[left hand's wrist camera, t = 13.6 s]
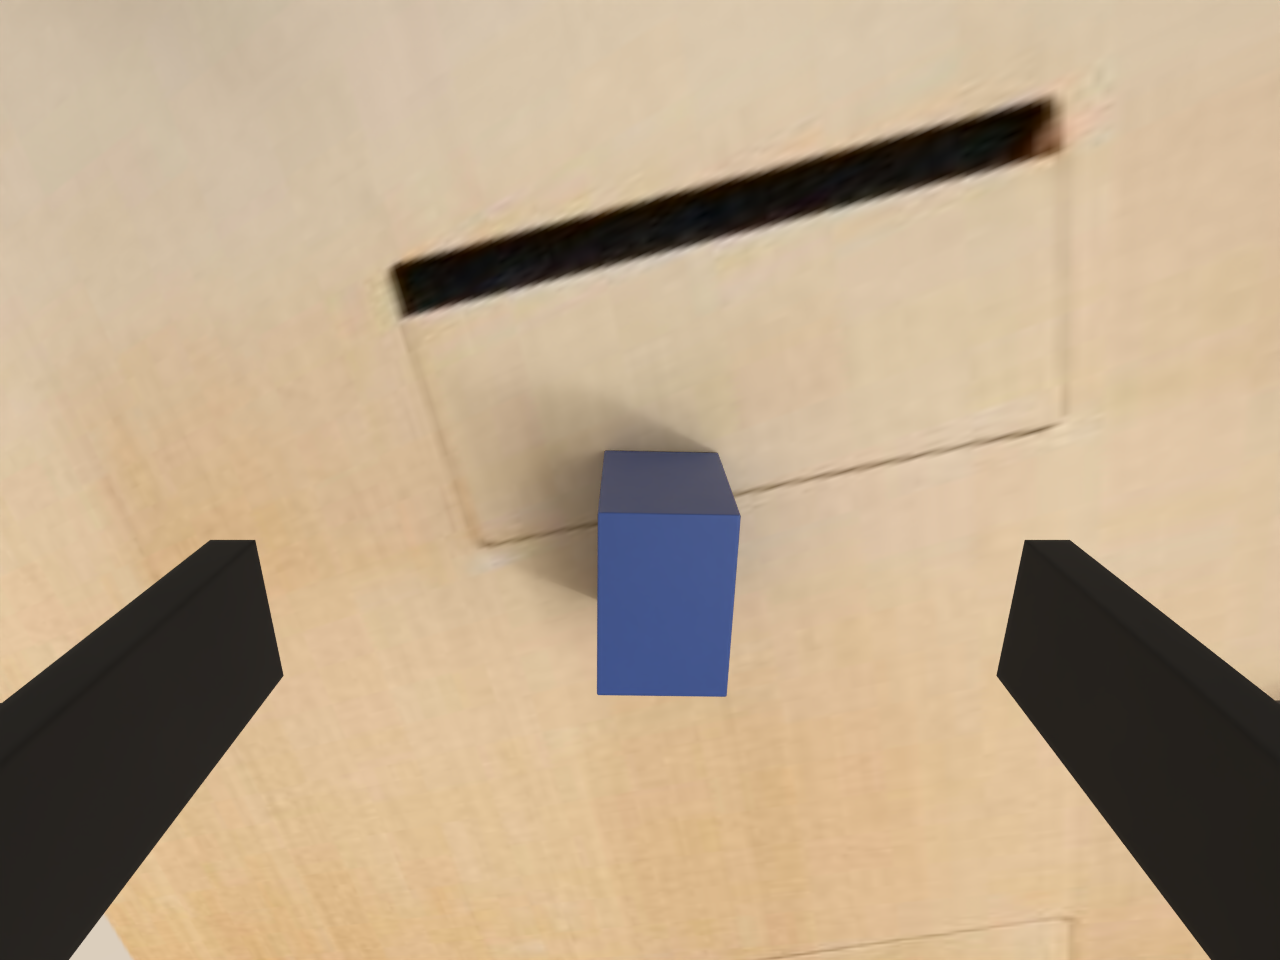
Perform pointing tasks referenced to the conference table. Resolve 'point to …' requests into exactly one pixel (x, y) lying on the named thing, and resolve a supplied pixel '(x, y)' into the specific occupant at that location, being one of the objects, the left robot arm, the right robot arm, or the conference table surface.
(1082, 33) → the conference table surface
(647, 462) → the brick
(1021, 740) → the conference table surface
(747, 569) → the conference table surface
